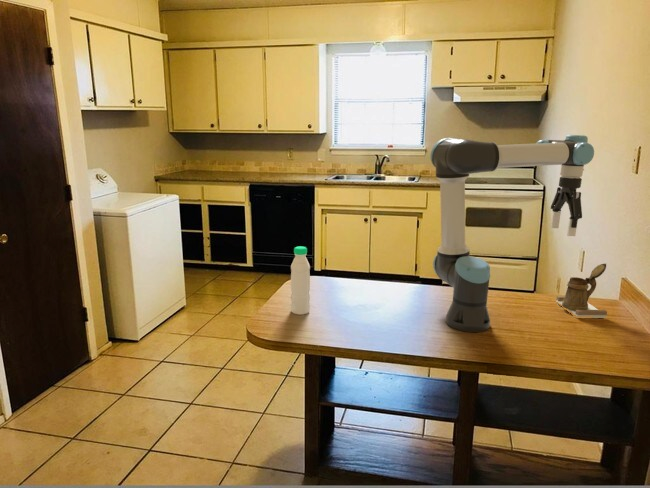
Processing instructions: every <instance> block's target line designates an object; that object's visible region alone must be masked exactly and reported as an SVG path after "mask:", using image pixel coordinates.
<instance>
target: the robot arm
mask: <svg viewBox="0 0 650 488" xmlns="http://www.w3.org/2000/svg"><path fill="white" fill-rule="evenodd" d="M588 140H589V138H588V136H586V135H584V134H567V135H566V136H565V139H563V140H560V139H559V140H558V139H541V140H538V141H537V142H536V143H520V144H519V143H518V144H513V143H511V144H497V143H496V142H494V141H489V142H488V141H485V142H484V141H479V140H478V141H477V140H471V139H468V138H467V139H466V138H458V137H445V138H442V139H439V140H438V141H437V142H436V143H435V144H434V145H433V147H432V149H431V151H430V162H431V164H432V165H433V167H434V168H435V178H436V179H437V180H438V181H439V184H440V185H439V186H440V187H439V189H440V227H441V228H440V230H441V231H440V232H441V233H440V237H441V239H440V240H441V245H440V246H439V247H438V248H437V254H436V255H435V256H434V258H433V262H432V265H433V266H432V267H433V271H434V273H435V274H436V276H437V277H438V278H439V279H440V280H442V281H443V282H445V283H446V284H448V285H449V286H450V287H451V288H453V291H452V292H453V293H452V301H451V304H450V306H449V308H448V310H447V312H446V314H445V323H446V325H448V326H449V327H451V328H452V329H455V330H458V331H461V332H466V333H480V332H486V331H487V330H489V329H490V326H491V325H490V324H491V318H490V314H489V311H488V307H487V304H488V293H489V288H490V287H489V286H490V278H491V267H490V264H489V263H488V262H487V261H485V260H484V259H482V258H481V257H479V258H478V257H475V256H470V255H471V254H470V250H471V249H470V247H468V246H467V245H466V191H465V190H466V183H465V182H466V180H467V179H468V178H469V177H470V174H477V173H478V174H479V173H489V172H495V171H496V170H497V169H505V168H522V167H523V168H524V167H538V166H540V167H542V166H555V165H556V166H558V165H560V166H561V167H560V172H559V175H560V177H559V182H558V187H557V189H556V193H555V195H554V198H553V200H552V203H551V205H550V210H552V217H551V224H550V229H559V227H560V219H561V214H562V213H561V212H562V208H563V207H564V205H565V204H567V205H568V209H569V214H570V217H569V218H568V219H569V220H568V226H567V233H566V234H567V237H576V233H577V227H578V221H579V220H580V219H582V218H583V210H582V199H581V198H582V192H581V191H577V189H580V188H581V186H582V181H583V179H582V176H583V173H584V171H585V169H584V167H585V165H588V164H589V163H591V162H592V161H593V158H594V155H595V149H594V146H593V145H592V144H591V143H589V141H588Z"/></svg>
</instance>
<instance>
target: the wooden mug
mask: <svg viewBox="0 0 650 488" xmlns="http://www.w3.org/2000/svg"><path fill="white" fill-rule="evenodd" d="M606 269H607V263H601V264H599V265H597V266H595V267H594V268H593V269H592V271H591V273H590V276H589V277H585V279H584V278H582V277H578V276H575V277H574V276H572V277H570V278H569V280H568V282H567V284H566V286H567V287H566V292H565V295H564V296H565V298H564V300H563V302H562V306H563V307H564V308H566V309H569V310H573V311H576V310H588V303H589V302H588V301H589V298H590V297H591V295H592V294H593V293H594V292H595V290H596V287H597V281H596V279H597V278H599V277H600V276H601V275H603V274H604V272H606ZM589 285H590V286H589ZM589 287H590V288H589ZM587 302H588V303H587Z"/></svg>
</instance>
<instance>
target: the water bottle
mask: <svg viewBox="0 0 650 488" xmlns="http://www.w3.org/2000/svg"><path fill="white" fill-rule="evenodd" d="M293 253H294V258H293V260H292V263H291V265H290V272H291V273H290V289H291V290H290V291H291V294H290V302H291V303H290V312H291V313H293V314H294V315H306V314H309V312H310V309H311V308H310V307H311V305H310V299H311V296H310V290H311V289H310V288H311V274H310V270H311V265H310V263H309V261H308V258H307V257H306V256H307V255H308V254H307V253H308V248H307V246H301V245H300V246H296V247H295V246H294V248H293Z"/></svg>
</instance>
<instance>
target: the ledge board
mask: <svg viewBox="0 0 650 488" xmlns="http://www.w3.org/2000/svg"><path fill="white" fill-rule="evenodd" d="M564 298H565V295H557V296H556V301H555V303H556V302H558V303H559V304H561V305H562V302H563V300H564ZM587 303H588V310H576V311H573V310H569V309H568V310H569V311H571V312H572V313H573V314H574V315H576V316H577V317H593V318H606V319H607V315H608V311H607V310H606V309H598V308H596V307H595V306H594V305H592V304H590V303H589V302H588V301H587Z"/></svg>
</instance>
